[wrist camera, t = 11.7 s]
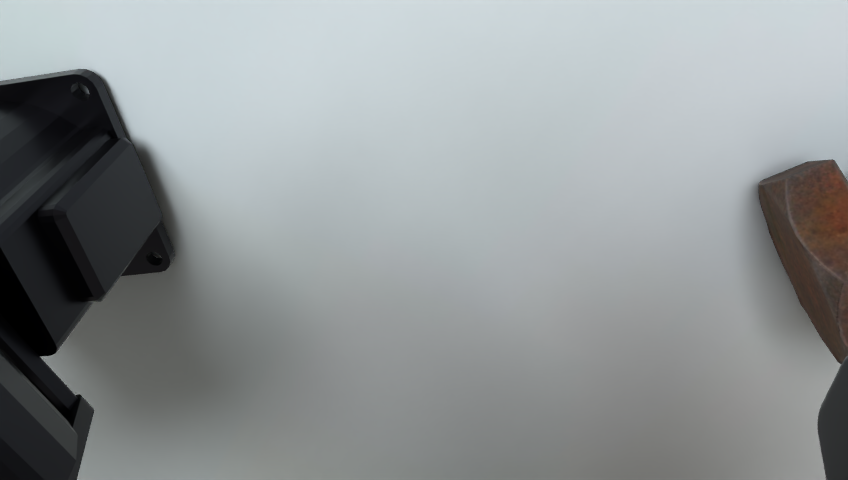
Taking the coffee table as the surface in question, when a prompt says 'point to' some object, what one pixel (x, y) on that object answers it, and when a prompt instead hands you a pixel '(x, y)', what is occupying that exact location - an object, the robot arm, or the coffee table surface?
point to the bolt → (813, 242)
